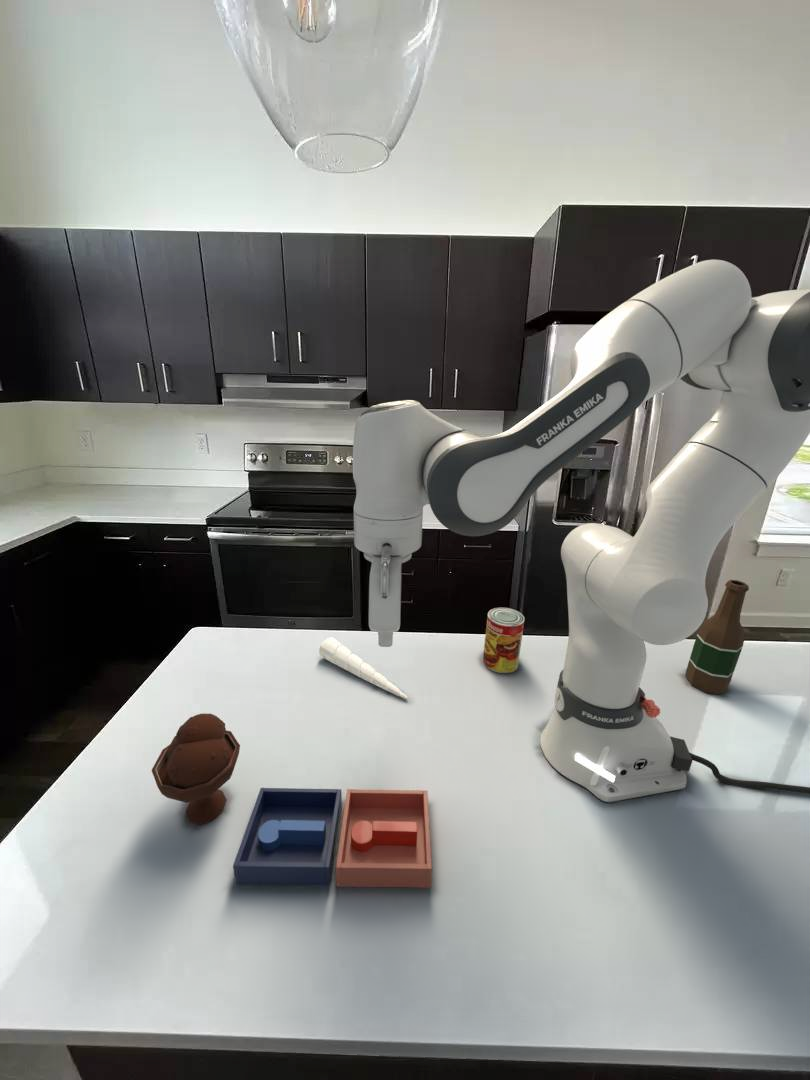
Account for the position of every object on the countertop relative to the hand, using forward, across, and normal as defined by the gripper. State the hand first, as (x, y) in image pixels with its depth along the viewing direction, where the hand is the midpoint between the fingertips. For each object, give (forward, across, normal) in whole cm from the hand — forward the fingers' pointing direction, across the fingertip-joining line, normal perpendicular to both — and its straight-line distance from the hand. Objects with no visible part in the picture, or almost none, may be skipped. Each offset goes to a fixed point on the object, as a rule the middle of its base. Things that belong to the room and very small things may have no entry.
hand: (387, 624), depth 60 cm
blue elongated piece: (+27, -12, +12) cm, 32 cm away
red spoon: (+27, -12, 0) cm, 29 cm away
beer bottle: (+27, +23, -68) cm, 77 cm away
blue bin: (+27, -12, +12) cm, 32 cm away
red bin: (+27, -12, 0) cm, 30 cm away
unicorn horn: (+27, +24, +6) cm, 37 cm away
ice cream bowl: (+27, -7, +26) cm, 38 cm away
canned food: (+27, +29, -25) cm, 47 cm away
